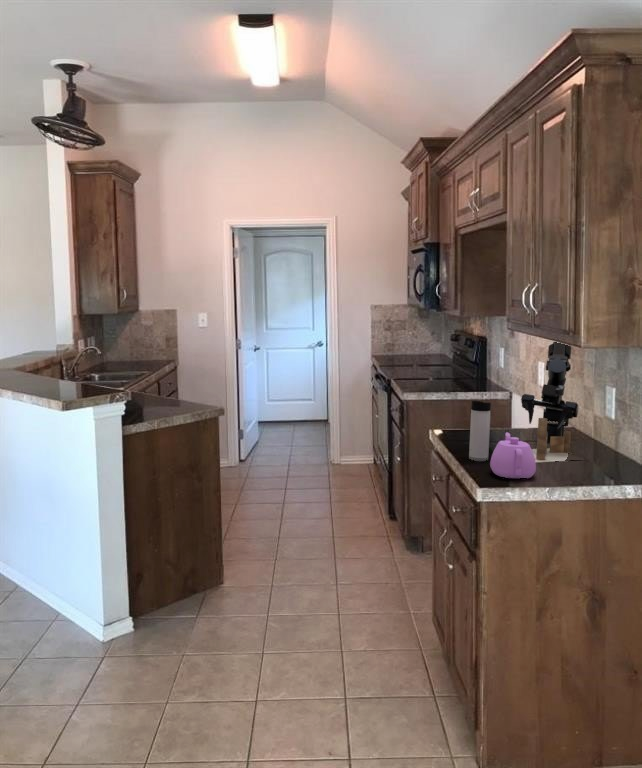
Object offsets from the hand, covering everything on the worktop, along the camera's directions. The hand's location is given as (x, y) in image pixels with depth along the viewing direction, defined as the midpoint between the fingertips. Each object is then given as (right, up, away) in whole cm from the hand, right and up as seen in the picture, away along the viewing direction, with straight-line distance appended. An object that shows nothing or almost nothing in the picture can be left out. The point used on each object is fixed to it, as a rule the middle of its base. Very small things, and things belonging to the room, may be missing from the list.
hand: (543, 425), depth 244 cm
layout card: (+1, -10, +2) cm, 11 cm away
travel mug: (-23, -11, -5) cm, 26 cm away
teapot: (-17, -14, -24) cm, 33 cm away
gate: (0, -10, 0) cm, 10 cm away
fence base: (+7, -10, +6) cm, 13 cm away
